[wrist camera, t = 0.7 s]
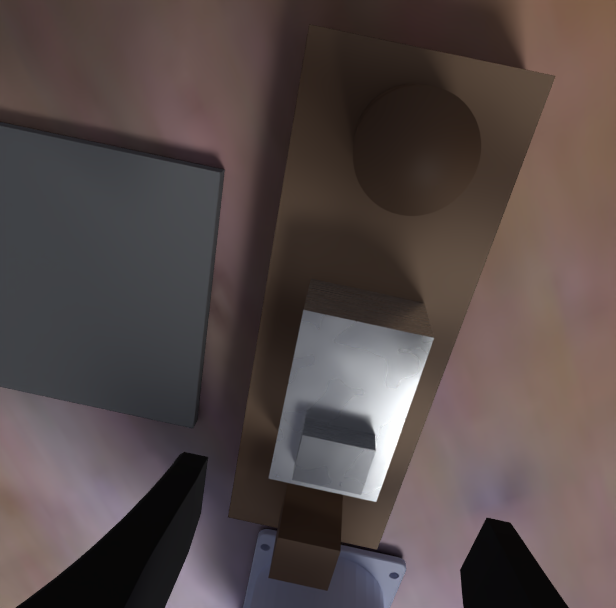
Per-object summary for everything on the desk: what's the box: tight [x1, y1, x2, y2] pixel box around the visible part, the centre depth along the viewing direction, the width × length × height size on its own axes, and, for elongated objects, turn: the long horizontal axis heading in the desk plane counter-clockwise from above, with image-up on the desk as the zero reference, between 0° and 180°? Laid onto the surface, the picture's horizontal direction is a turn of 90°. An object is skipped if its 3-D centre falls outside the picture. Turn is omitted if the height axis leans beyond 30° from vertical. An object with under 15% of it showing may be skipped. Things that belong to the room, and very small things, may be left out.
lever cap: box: [269, 279, 434, 502], centre depth 17 cm, size 7×4×3 cm, turn 169°
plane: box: [228, 24, 555, 591], centre depth 18 cm, size 20×7×6 cm, turn 169°
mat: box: [0, 122, 225, 428], centre depth 20 cm, size 12×12×1 cm
